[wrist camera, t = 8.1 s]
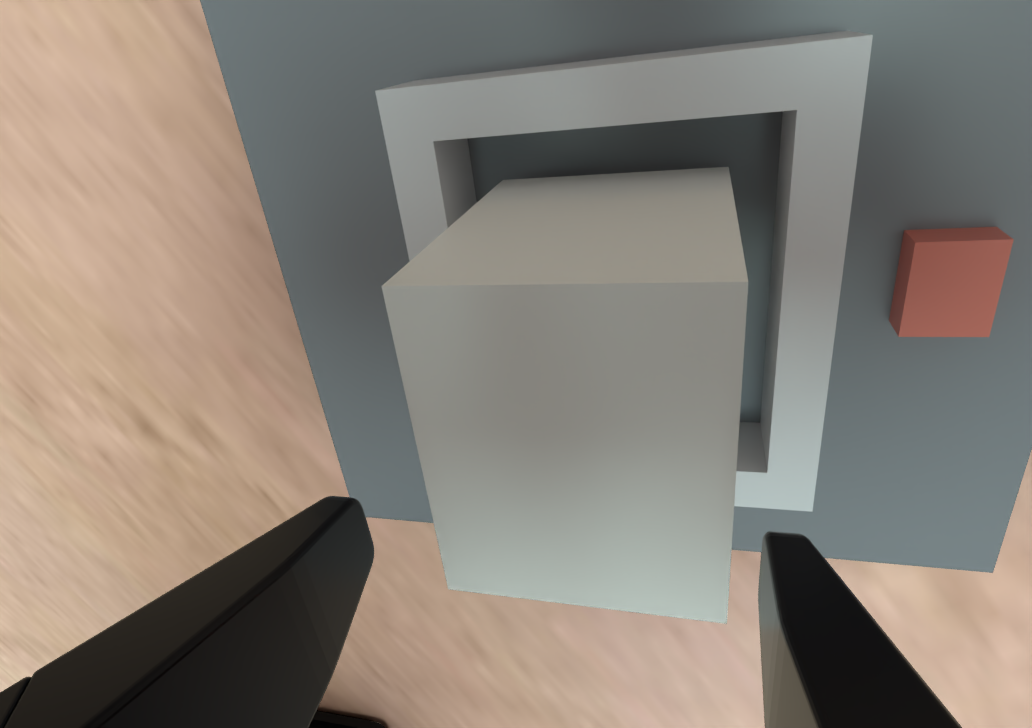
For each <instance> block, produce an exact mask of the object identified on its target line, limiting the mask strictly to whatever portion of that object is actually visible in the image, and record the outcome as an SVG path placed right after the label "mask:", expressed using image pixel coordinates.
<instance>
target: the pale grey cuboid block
mask: <svg viewBox="0 0 1032 728" xmlns="http://www.w3.org/2000/svg"><path fill="white" fill-rule="evenodd" d="M381 287H382V291H383V296H384V300H385V305H386V309H387V314H388V318H389V323H390V327H391V332H392V336H393V341H394V345H395V350H396V355H397V359H398V364H399V368H400V373H401V377H402V382H403V386H404V391H405V395H406V400H407V404H408V409H409V413H410V418H411V423H412V427H413V432H414V436H415V441H416V445H417V450H418V454H419V459H420V463H421V468H422V472H423V477H424V481H425V486H426V490H427V495H428V500H429V504H430V509H431V513H432V518H433V522H434V527H435V531H436V536H437V540H438V545H439V549H440V554H441V558H442V563H443V567H444V572H445V577H446V581H447V586H448V589H450V590H458V591H466V592H475V593H483V594H491V595H499V596H507V597H515V598H523V599H531V600H539V601H547V602H555V603H563V604H571V605H579V606H587V607H596V608H604V609H612V610H620V611H628V612H636V613H644V614H652V615H660V616H668V617H676V618H684V619H692V620H700V621H709V622H717V623H725V624H727V611H728V596H729V580H730V564H731V548H732V533H733V517H734V501H735V485H736V470H737V454H738V438H739V422H740V407H741V391H742V375H743V359H744V344H745V328H746V312H747V296H748V276H747V271H746V265H745V259H744V253H743V247H742V242H741V236H740V230H739V224H738V218H737V212H736V207H735V201H734V195H733V189H732V183H731V178H730V172H729V167H716V168H699V169H682V170H665V171H647V172H630V173H613V174H596V175H579V176H562V177H545V178H528V179H510V180H502V181H501V182H500V183H499V184H498V185H496V186H495V187H494V188H493V189H492V190H491V191H490V192H488V193H487V194H486V195H485V196H484V197H483V198H482V199H480V200H479V201H478V202H477V203H476V204H475V205H474V206H472V207H471V208H470V209H469V210H468V211H467V212H466V213H464V214H463V215H462V216H461V217H460V218H459V219H458V220H456V221H455V222H454V223H453V224H452V225H451V226H450V227H449V228H447V229H446V230H445V231H444V232H443V233H442V234H441V235H439V236H438V237H437V238H436V239H435V240H434V241H433V242H431V243H430V244H429V245H428V246H427V247H426V248H425V249H423V250H422V251H421V252H420V253H419V254H418V255H417V256H415V257H414V258H413V259H412V260H411V261H410V262H409V263H407V264H406V265H405V266H404V267H403V268H402V269H401V270H399V271H398V272H397V273H396V274H395V275H394V276H393V277H392V278H390V279H389V280H388V281H387V282H386V283H385V284H384V285H382V286H381Z"/></svg>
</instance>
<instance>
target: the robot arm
mask: <svg viewBox="0 0 1032 728" xmlns="http://www.w3.org/2000/svg"><path fill="white" fill-rule="evenodd" d="M373 558H374V545H373V541H372V538H371V534H370V531H369V527H368V524H367V520H366V517H365V514H364V510H363V507H362V505H361V503H360V502H359V501H358V500H357V499H355V498H350V497H338V496H329V497H325V498H324V499H322V500H320V501H318V502H317V503H315V504H313V505H312V506H310V507H308V508H307V509H305V510H303V511H302V512H300V513H298V514H297V515H295V516H293V517H292V518H290V519H288V520H287V521H285V522H283V523H282V524H280V525H278V526H277V527H275V528H273V529H272V530H270V531H268V532H267V533H265V534H264V535H262V536H260V537H259V538H257V539H255V540H254V541H252V542H250V543H249V544H247V545H245V546H244V547H242V548H240V549H239V550H237V551H235V552H234V553H232V554H230V555H229V556H227V557H225V558H224V559H222V560H220V561H219V562H217V563H215V564H214V565H212V566H210V567H209V568H207V569H205V570H204V571H202V572H200V573H199V574H197V575H195V576H194V577H192V578H190V579H189V580H187V581H185V582H184V583H182V584H180V585H179V586H177V587H175V588H174V589H172V590H170V591H169V592H167V593H165V594H164V595H162V596H160V597H159V598H157V599H155V600H154V601H152V602H150V603H149V604H147V605H145V606H144V607H142V608H140V609H139V610H137V611H135V612H134V613H132V614H130V615H129V616H127V617H125V618H124V619H122V620H120V621H119V622H117V623H115V624H114V625H112V626H110V627H109V628H107V629H105V630H104V631H102V632H100V633H99V634H97V635H95V636H94V637H92V638H90V639H89V640H87V641H85V642H84V643H82V644H80V645H79V646H77V647H75V648H74V649H72V650H70V651H69V652H67V653H65V654H64V655H62V656H60V657H59V658H57V659H55V660H54V661H52V662H50V663H49V664H47V665H45V666H44V667H42V668H40V669H39V670H37V671H36V672H35V673H34V674H33V676H32V677H25V678H23V679H22V680H20V681H19V682H17V683H15V684H14V685H12V686H10V687H9V688H7V689H5V690H4V691H2V692H0V728H385V727H384V726H383V725H381V724H380V723H377V722H373V721H368V720H362V719H357V718H352V717H346V716H341V715H335V714H330V713H325V712H319V711H316V710H317V708H318V706H319V704H320V702H321V700H322V697H323V695H324V693H325V691H326V689H327V686H328V684H329V682H330V680H331V677H332V675H333V672H334V670H335V667H336V665H337V662H338V660H339V657H340V654H341V651H342V649H343V646H344V643H345V640H346V637H347V634H348V632H349V629H350V626H351V623H352V620H353V617H354V615H355V612H356V609H357V606H358V603H359V601H360V598H361V595H362V592H363V589H364V586H365V584H366V581H367V578H368V575H369V572H370V569H371V567H372V563H373ZM758 603H759V624H760V643H761V662H762V682H763V701H764V720H765V728H962V727H961V726H960V724H959V723H958V722H957V721H956V720H955V718H954V717H953V716H952V715H951V713H950V712H949V711H948V710H947V708H946V707H945V706H944V705H943V704H942V702H941V701H940V700H939V699H938V697H937V696H936V695H935V694H934V692H933V691H932V690H931V689H930V688H929V686H928V685H927V684H926V683H925V681H924V680H923V679H922V678H921V676H920V675H919V674H918V673H917V672H916V670H915V669H914V668H913V667H912V665H911V664H910V663H909V662H908V660H907V659H906V658H905V657H904V656H903V654H902V653H901V652H900V651H899V649H898V648H897V647H896V646H895V644H894V643H893V642H892V641H891V640H890V638H889V637H888V636H887V635H886V633H885V632H884V631H883V630H882V628H881V627H880V626H879V625H878V624H877V622H876V621H875V620H874V619H873V617H872V616H871V615H870V614H869V612H868V611H867V610H866V609H865V608H864V606H863V605H862V604H861V603H860V601H859V600H858V599H857V598H856V596H855V595H854V594H853V593H852V592H851V590H850V589H849V588H848V587H847V585H846V584H845V583H844V582H843V580H842V579H841V578H840V577H839V576H838V574H837V573H836V572H835V571H834V569H833V568H832V567H831V566H830V564H829V563H828V562H827V561H826V560H825V558H824V557H823V556H822V555H821V553H820V552H819V551H818V550H817V548H816V547H815V546H814V545H813V544H812V542H811V541H810V540H809V539H808V538H807V537H806V536H804V535H802V534H799V533H787V532H774V531H769V532H767V533H765V535H764V536H763V541H762V551H761V564H760V576H759V591H758Z"/></svg>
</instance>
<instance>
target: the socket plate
mask: <svg viewBox="0 0 1032 728" xmlns="http://www.w3.org/2000/svg"><path fill="white" fill-rule="evenodd" d="M200 2H201V5H202V8H203V12H204V15H205V18H206V21H207V25H208V28H209V31H210V35H211V38H212V41H213V45H214V48H215V51H216V55H217V58H218V61H219V65H220V68H221V71H222V75H223V78H224V81H225V85H226V88H227V91H228V95H229V98H230V101H231V104H232V108H233V111H234V114H235V118H236V121H237V124H238V128H239V131H240V134H241V138H242V141H243V144H244V148H245V151H246V154H247V158H248V161H249V164H250V168H251V171H252V174H253V178H254V181H255V184H256V187H257V191H258V194H259V197H260V201H261V204H262V207H263V211H264V214H265V217H266V221H267V224H268V227H269V231H270V234H271V237H272V241H273V244H274V247H275V251H276V254H277V257H278V261H279V264H280V267H281V270H282V274H283V277H284V280H285V284H286V287H287V290H288V294H289V297H290V300H291V304H292V307H293V310H294V314H295V317H296V320H297V324H298V327H299V330H300V334H301V337H302V340H303V344H304V347H305V350H306V353H307V357H308V360H309V363H310V367H311V370H312V373H313V377H314V380H315V383H316V387H317V390H318V393H319V397H320V400H321V403H322V407H323V410H324V413H325V417H326V420H327V423H328V427H329V430H330V433H331V437H332V440H333V443H334V446H335V450H336V453H337V456H338V460H339V463H340V466H341V470H342V473H343V476H344V480H345V483H346V486H347V490H348V493H349V496H350V498H355V499H357V500H358V501H359V502H360V503H361V505H362V507H363V510H364V514H365V517H372V518H383V519H395V520H406V521H417V522H428V523H434V522H433V518H432V513H431V509H430V504H429V500H428V495H427V490H426V486H425V481H424V477H423V472H422V468H421V463H420V459H419V454H418V450H417V445H416V441H415V436H414V432H413V427H412V423H411V418H410V413H409V409H408V404H407V400H406V395H405V391H404V386H403V382H402V377H401V373H400V368H399V364H398V359H397V355H396V350H395V345H394V341H393V336H392V332H391V327H390V323H389V318H388V314H387V309H386V305H385V300H384V296H383V291H382V287H381V286H382V285H384V284H385V283H386V282H387V281H388V280H389V279H390V278H392V277H393V276H394V275H395V274H396V273H397V272H398V271H399V270H401V269H402V268H403V267H404V266H405V265H406V264H407V263H409V262H410V261H411V260H412V259H413V258H414V257H415V256H417V255H418V254H419V253H420V252H421V251H422V250H423V249H425V248H426V247H427V246H428V245H429V244H430V243H431V242H433V241H434V240H435V239H436V238H437V237H438V236H439V235H441V234H442V233H443V232H444V231H445V230H446V229H447V228H449V227H450V226H451V225H452V224H453V223H454V222H455V221H456V220H458V219H459V218H460V217H461V216H462V215H463V214H464V213H466V212H467V211H468V210H469V209H470V208H471V207H472V206H474V205H475V204H476V203H477V202H478V201H479V200H480V199H482V198H483V197H484V196H485V195H486V194H487V193H488V192H490V191H491V190H492V189H493V188H494V187H495V186H496V185H498V184H499V183H500V182H501V181H502V180H510V179H528V178H545V177H562V176H579V175H596V174H613V173H630V172H647V171H665V170H682V169H699V168H716V167H729V172H730V178H731V183H732V189H733V195H734V201H735V207H736V212H737V218H738V224H739V230H740V236H741V242H742V247H743V253H744V259H745V265H746V271H747V276H748V296H747V312H746V328H745V344H744V359H743V375H742V391H741V407H740V422H739V438H738V454H737V470H736V485H735V501H734V517H733V533H732V548H731V549H732V550H743V551H754V552H761V551H762V541H763V536H764V535H765V533H767V532H769V531H774V532H787V533H799V534H802V535H804V536H806V537H807V538H808V539H809V540H810V541H811V542H812V544H813V545H814V546H815V547H816V548H817V550H818V551H819V552H820V553H821V555H822V556H823V557H824V558H833V559H844V560H855V561H867V562H878V563H889V564H900V565H912V566H923V567H934V568H945V569H957V570H968V571H979V572H990V573H993V570H994V567H995V564H996V561H997V558H998V555H999V551H1000V548H1001V545H1002V542H1003V539H1004V535H1005V532H1006V529H1007V526H1008V523H1009V519H1010V516H1011V513H1012V510H1013V507H1014V503H1015V500H1016V497H1017V494H1018V491H1019V488H1020V484H1021V481H1022V478H1023V475H1024V472H1025V468H1026V465H1027V462H1028V459H1029V456H1030V452H1031V449H1032V0H200Z"/></svg>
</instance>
